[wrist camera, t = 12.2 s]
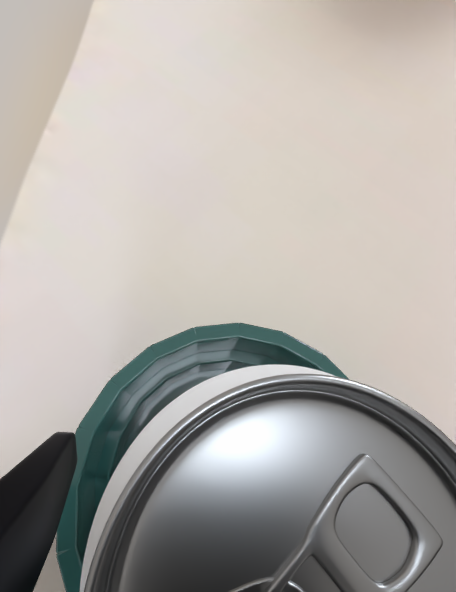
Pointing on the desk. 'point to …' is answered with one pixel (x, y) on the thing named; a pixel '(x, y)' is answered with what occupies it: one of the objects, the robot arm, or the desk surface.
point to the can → (279, 493)
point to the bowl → (149, 402)
